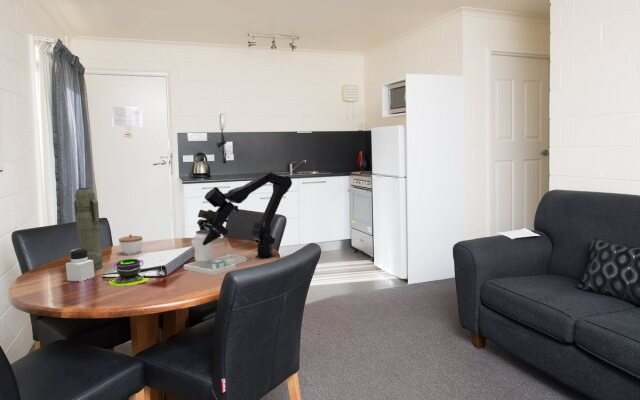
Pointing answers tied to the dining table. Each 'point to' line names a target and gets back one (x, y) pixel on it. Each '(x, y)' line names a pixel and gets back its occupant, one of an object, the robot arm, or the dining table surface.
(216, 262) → the letter cube
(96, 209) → the thermos
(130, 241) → the lidded jar
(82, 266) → the medicine bottle
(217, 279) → the dining table surface
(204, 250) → the can
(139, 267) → the toy cauldron
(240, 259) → the small tray
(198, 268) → the long tray
